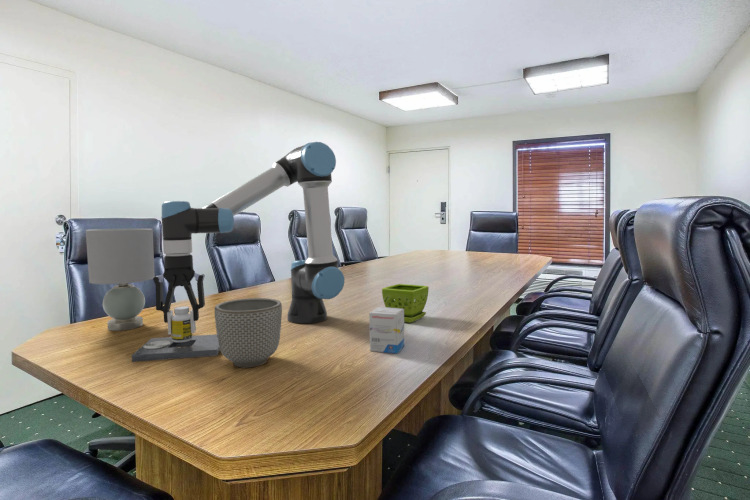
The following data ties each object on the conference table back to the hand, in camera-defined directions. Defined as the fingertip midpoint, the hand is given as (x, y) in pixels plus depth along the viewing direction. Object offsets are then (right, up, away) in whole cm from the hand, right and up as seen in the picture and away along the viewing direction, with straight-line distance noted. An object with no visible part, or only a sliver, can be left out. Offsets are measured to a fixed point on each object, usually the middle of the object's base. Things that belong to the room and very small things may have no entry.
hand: (182, 332), depth 119 cm
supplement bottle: (0, -3, 0) cm, 3 cm away
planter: (+23, -6, -10) cm, 26 cm away
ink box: (+61, -5, +2) cm, 61 cm away
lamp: (-33, -4, +27) cm, 43 cm away
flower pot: (+69, -3, +36) cm, 78 cm away
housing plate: (0, -5, +1) cm, 5 cm away
